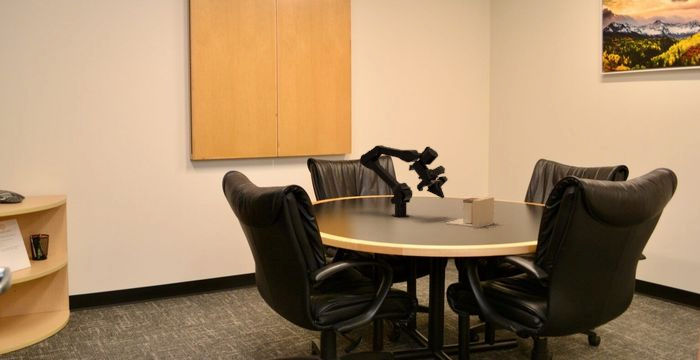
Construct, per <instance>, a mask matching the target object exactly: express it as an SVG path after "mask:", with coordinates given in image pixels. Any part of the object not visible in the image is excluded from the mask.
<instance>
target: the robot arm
mask: <svg viewBox="0 0 700 360" xmlns="http://www.w3.org/2000/svg"><path fill="white" fill-rule="evenodd" d="M381 156H389V157H393V158H397V159H399V160H401V161H403V162H404V163H412V164H409V166H408V171H409V172H410V171H414V173H416V174H417V176H418V177H417V178H418V180H421V181H420V182H418V184H417V185H416V189H417V190H418V192H423V191H424V188H425V187H427V189H426V192H428V193H431V194H433V195H434V196H436V197H439V198H441V199H444V198H445V194H444V191H443V188H442V186H444V185H445V184H446V183H447V181H449V179H448V177H446V176H444V174H445V173H446V172H445V171H446V168H445V167H444V166H443V165H439V166H437V167H434V168H429V167H428V166H431V164H432V163H433V162H435V160H436V159H437V158H438V157H439V153H438V152H437V151H436V150H435V149H433V148H431V146H425V148H424V150H423V151H421V152H419V151H418V150H417V149H399V148H394V147H390V146H389V147H388V146H384V145H380V144H379V145H375V146H374V147H373V148H371V149H370V150H367V152H365V153H364V154H361V156H360V159H359V163H360V164H361V165H362V166H363V167H364V168H366V169H368V170H371V171H373V173H375V174H376V176H378V178H379V179H381V180H382V182H384V183H385V184H386V185H387V186H388V187H389V188H390V189H391V191H392V195H393V196H392V197H391V199H390V203H391V205H394V213H392V214H391V216H393V217H396V218H403V217H410V215H409V214H407V211H408V210H407V205H408V203H411V199H412V198H413V190H412V187H411V186H409V185H408V184H407V183H406V182H401V183H400V182H399V181H398V180H397V179H396V178H395V177H394V176H393V175H392V174H391V173H390V172H389V171H388V170H386V169H385V168H384V167H383V165H382V164H381V163H380V158H381ZM427 165H428V166H427ZM442 174H443V175H442ZM440 175H441V176H440Z"/></svg>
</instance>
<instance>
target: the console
mask: <svg viewBox="0 0 700 360" xmlns="http://www.w3.org/2000/svg"><path fill="white" fill-rule="evenodd" d="M494 217H495V197H494V196H486V197H481V198H480V199H476V200H473V215H472V223H464V222H463V218H457V219H455V220H450V221H446V222H445V224H446V225H451V226H459V227H468V228H475V229H477V228H478V229H479V228H483V227H486V226H489V225H493V224H495V222H494V221H495V220H494V219H495V218H494Z"/></svg>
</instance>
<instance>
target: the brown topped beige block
mask: <svg viewBox="0 0 700 360" xmlns="http://www.w3.org/2000/svg"><path fill="white" fill-rule="evenodd" d="M476 199H480V198H479V197H470V198H465V199H462V203H463V205H462V211H463V212H462V219H463V222H464V223H472V215H473V200H476Z"/></svg>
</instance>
